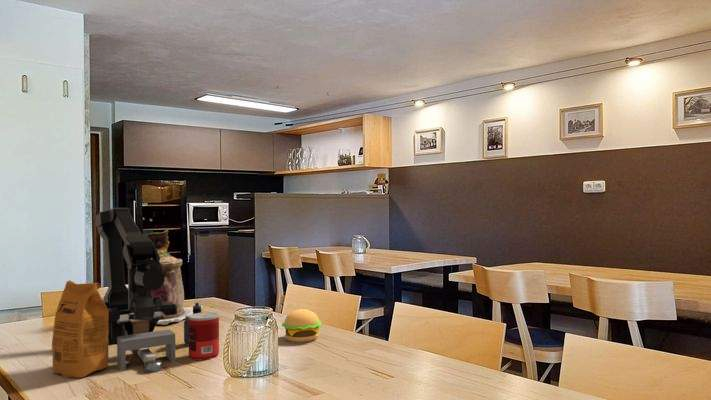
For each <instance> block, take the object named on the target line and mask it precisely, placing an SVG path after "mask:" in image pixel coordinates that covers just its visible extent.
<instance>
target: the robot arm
mask: <svg viewBox="0 0 711 400" xmlns="http://www.w3.org/2000/svg"><path fill="white" fill-rule="evenodd" d="M131 213H132V212H131V209H130V208H128V207H113V208H110V209H109V210H105V211H100V212H99V213H97V214H96V215H95V217H94V218H95V220H94V221H95V227H97V233H98V235H99V236H100V237H101V238H102V240H103V241H104V249H105V260H106V272H107V285H108V286H107V287H108V288H107V290H106V292H105V294H104V295H103V297H102V299H103V301H104V303H105V305H106V307H107V309H108V311H109V319H108V326H109V334H108V341H109V345H111V344H113V345H114V344H117V337H118V336H125V335H132V331H131V321H130V320H129V319H133V317H134V316H135V318H137V319H140V318H143V317H148V322H149V332H154V331H155V328H156V326H157V325H158V324H157V322H158V321H159V320H160V319H163V316H162V312H163V313H164V314H165V315H166V316H167V315H175V314H177V305H175V304H174V303H172V302H163V303H162V298H161V297H154V298H152V295H151V290H157V289H159V288H160V287H161V286H162V285H163V283H164V279H165V276H164V274H163V272H162V271H161V270H159V269H157V265H160V257H159V254H158V252H157V249H156V247H155V245H154V244H153V242H152V241H151V239H150V238H149V237H148V236H146V235H147V234H143V233H142V232H141V230H140V229H139V227H138V226H137V224H136V222H135V219H134V218H133V216H132V214H131ZM122 241H123V243H124V245H123V243H122ZM124 260H125V262H126V264H127V272H128V273H127V275H128V276H127V284H128V285H127V286H128V287H127V286H126V276H125V265H124Z"/></svg>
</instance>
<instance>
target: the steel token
mask: <svg viewBox="0 0 711 400" xmlns="http://www.w3.org/2000/svg"><path fill="white" fill-rule="evenodd" d="M143 363H144V365H143V366H144V368H143V369H144V373H148V374H152V373H153V374H154V373H158V372H161V371H162V370H163V361H162V360H159V359H156V360H152V361H147V362H143Z"/></svg>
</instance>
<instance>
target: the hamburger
mask: <svg viewBox="0 0 711 400" xmlns="http://www.w3.org/2000/svg"><path fill="white" fill-rule="evenodd" d="M321 326H322V322H321V320H319V317H318V315H317V314H316V313H315V312H313V311H312V310H309V309H306V308H303V309H302V308H299V309H296V310H293V311H290V313H289V314H287V315H286V316H285V319H284V322H281V327H283V328H284V330H285V334H284V337H285V340H287V341H289V342H291V343H292V342H293V343H307V342H308V343H309V342H313V341H315V340H317V339H318V337H319V335H320V334H319V332H320V327H321Z"/></svg>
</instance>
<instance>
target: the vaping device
mask: <svg viewBox="0 0 711 400" xmlns="http://www.w3.org/2000/svg"><path fill="white" fill-rule="evenodd" d="M194 303H195V304H194V305H193V306H192V307H193V314H196V313H202V308H201V306H202V305H200V303H199V302H194ZM189 316H190V315H188V316H185V317H186V318H185V319H184V322H183V343H184V345H186V346H189V326H188V322H189Z"/></svg>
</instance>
